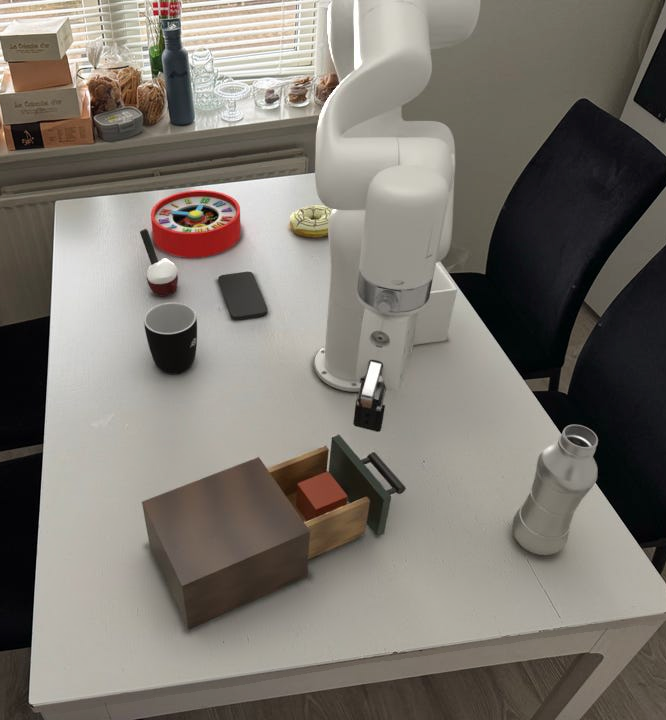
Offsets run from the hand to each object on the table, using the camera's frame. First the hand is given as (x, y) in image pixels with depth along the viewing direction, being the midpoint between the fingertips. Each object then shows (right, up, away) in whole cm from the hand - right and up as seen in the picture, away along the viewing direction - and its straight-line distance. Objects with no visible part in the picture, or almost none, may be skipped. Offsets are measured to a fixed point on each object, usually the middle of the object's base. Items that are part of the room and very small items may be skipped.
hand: (376, 400), depth 84 cm
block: (-5, -16, +10) cm, 19 cm away
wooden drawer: (-4, -17, +11) cm, 20 cm away
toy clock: (-21, +33, +73) cm, 83 cm away
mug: (-26, +5, +40) cm, 48 cm away
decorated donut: (+5, +34, +71) cm, 79 cm away
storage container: (+16, +15, +48) cm, 53 cm away
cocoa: (-28, +19, +57) cm, 66 cm away
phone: (-13, +17, +53) cm, 57 cm away
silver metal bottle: (+23, -19, +7) cm, 30 cm away
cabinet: (-18, -22, +7) cm, 29 cm away
